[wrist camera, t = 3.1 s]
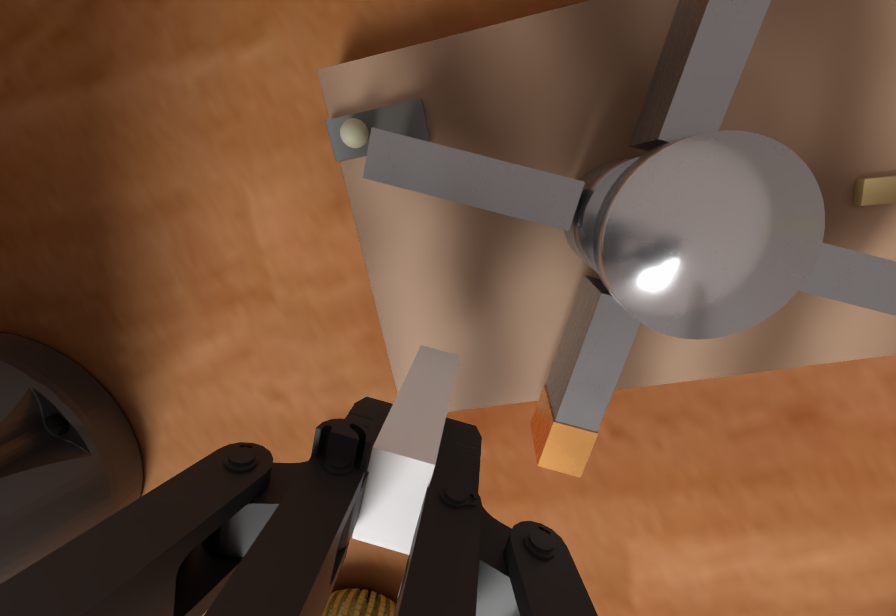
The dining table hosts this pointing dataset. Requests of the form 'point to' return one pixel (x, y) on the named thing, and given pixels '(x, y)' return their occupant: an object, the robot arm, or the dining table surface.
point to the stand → (587, 146)
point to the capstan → (660, 224)
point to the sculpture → (358, 604)
